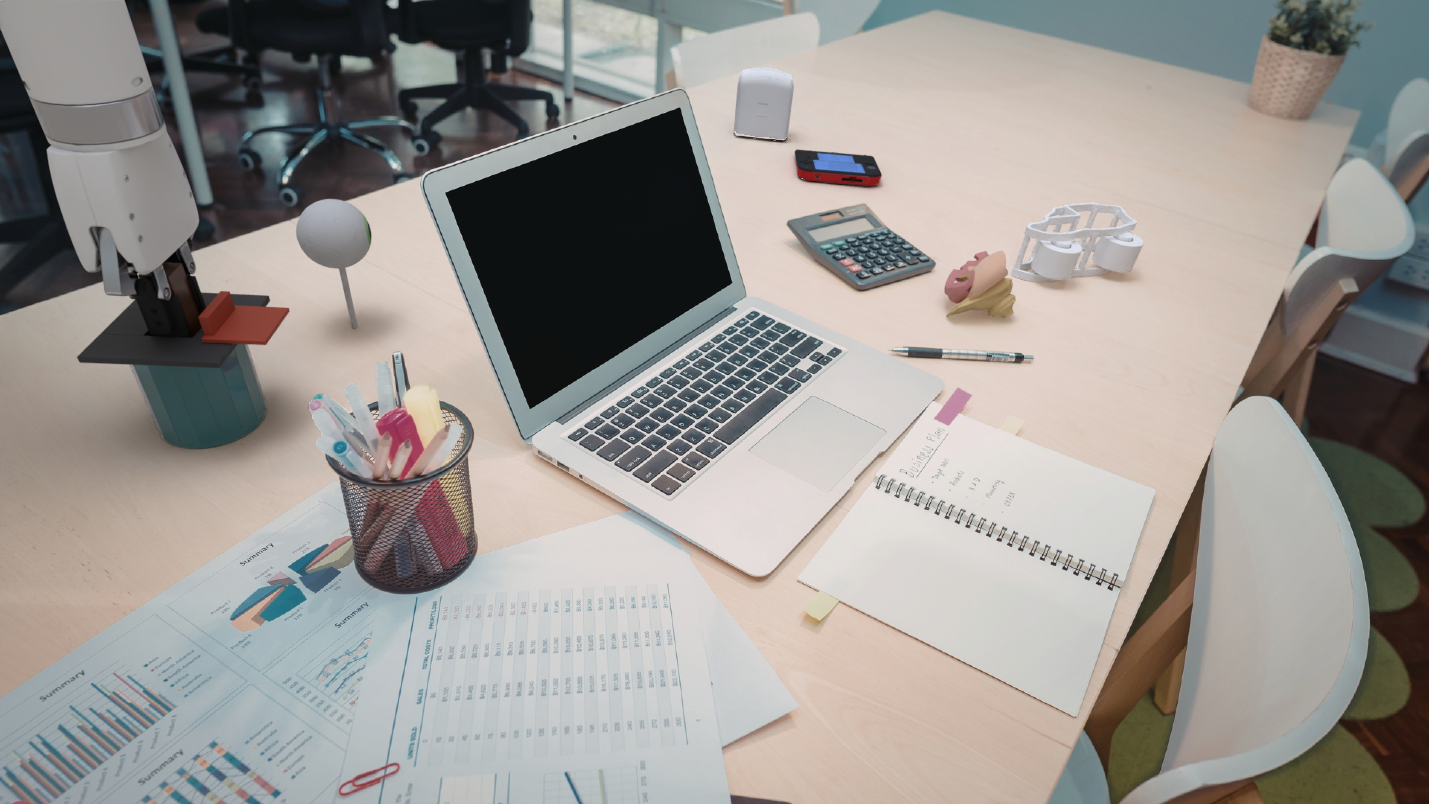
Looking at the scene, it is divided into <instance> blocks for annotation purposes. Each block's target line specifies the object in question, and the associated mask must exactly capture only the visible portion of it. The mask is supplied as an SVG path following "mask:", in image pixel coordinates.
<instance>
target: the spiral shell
mask: <svg viewBox="0 0 1429 804" xmlns="http://www.w3.org/2000/svg"><path fill="white" fill-rule="evenodd" d="M973 259H975V260H967V261H966V263H964V264H963V265H962V266H961V267H960V268H959V269H955V268H954V269H952V271H951V272H950V273H949V275H948V276H947V279H946V281H945V285H944V289H943V290H944V291H943V292H944V295H946V296H947V298H948V300H949V301H950V302H952V303H954V304H956V305H955V306H954V307H952V308H951V309H949V311H948V312H947V314H946V315H945V317H949V316H954V315H958V314H962V313H966V312H969V311H983V312H984V311H985V312H986V311H987V315H988V316H990V317H991V318H994V317H1003V318H1004V319H1007V318H1009V317H1011V316H1012V315H1014V309H1013V306H1014V304H1015V302H1016V301H1017V299H1016V295H1015V294H1012V291H1013V285H1014V282H1013V278H1009V277H1007V276H1008V275H1009V271H1008V269H1007V268H1006V267H1007V257H1006V253H1005V251H1004V250H998V251H995V252H993V253H991V254H989V253H988V251H987V250H984V251H980V252H977V253H975V254H974V256H973Z"/></svg>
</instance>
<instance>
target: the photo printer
mask: <svg viewBox="0 0 1429 804" xmlns="http://www.w3.org/2000/svg"><path fill="white" fill-rule="evenodd" d="M794 85H795V84H794V81H793V75H792V74H790V73H788V72H787V71H784V70H780V69H776V68H773V67H751V68H746V69H743V70H741V73H740V76H739V78H738V83H737V89H736V97H735V98H736V100H735V111H734V123H733V124H734V125H733V132H734V131H736V133H738V134H744V135H750V136H755V137H769V138H775V139H785V138H786V137H789V129H790V122H791V114H792V106H793V98H794V97H793V96H794V90H795V86H794Z"/></svg>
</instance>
